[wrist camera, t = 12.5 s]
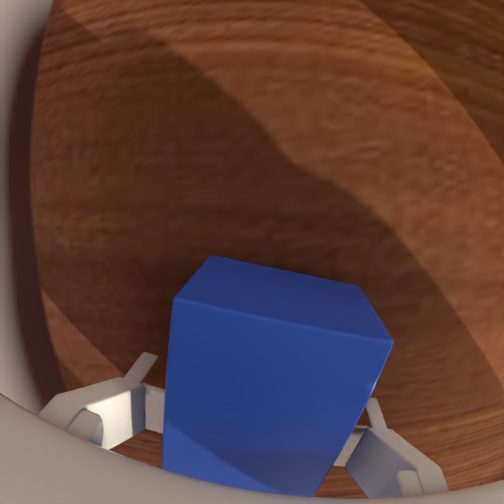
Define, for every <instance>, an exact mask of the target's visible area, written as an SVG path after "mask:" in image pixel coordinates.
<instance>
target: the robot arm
mask: <svg viewBox="0 0 504 504" xmlns="http://www.w3.org/2000/svg"><path fill="white" fill-rule="evenodd" d="M166 369H167V358H164V357H161V356H160V357H159V356H158V355H154V354H151V353H148V352H144V353H142V354H141V355H140V357H139V358H138V359H137V361H136V362H135V363H134V365H133V366H132V367H131V369H130V370H129V371H128V373H127V374H126V375H125V376H124V378H122V377H116V378H113V379H110V380H106V381H103V382H100V383H96V384H93V385H89V386H86V387H82V388H79V389H75V390H71V391H68V392H64V393H60V394H57V395H56V396H55V397H54V398H53V399H52V400H51V401H50V402H49V403H48V404H47V405H46V406H45V407H44V408H43V409H42V410H41V412H40V413H39V414H38V415H35V414H34V413H32V412H30V411H28V410H27V409H25V408H23V407H21V406H20V405H18V404H17V403H15V402H13V401H12V400H10V399H9V398H7V397H5V396H4V395H2V394H1V393H0V504H504V479H503V480H499V481H495V482H491V483H487V484H482V485H478V486H473V487H468V488H463V489H458V490H452V491H450V490H449V488H448V485H447V483H446V480H445V478H444V475H443V473H442V471H441V468H440V466H438V465H437V464H436V463H434V462H433V461H432V460H430V459H429V458H428V457H427V456H425V455H424V454H423V453H421V452H420V451H419V450H417V449H416V448H415V447H414V446H412V445H411V444H410V443H408V442H407V441H406V440H405V439H403V438H402V437H401V436H400V435H398V434H397V433H396V432H394V431H393V430H392V429H387V426H386V423H385V420H384V417H383V415H382V412H381V409H380V406H379V404H378V401H377V399H376V398H375V397H370V398H369V400H368V402H367V404H366V406H365V408H364V410H363V412H362V414H361V416H360V418H359V420H358V422H357V424H356V426H355V427H354V429H353V431H352V433H351V435H350V437H349V438H348V440H347V442H346V444H345V446H344V447H343V449H342V451H341V453H340V454H339V456H338V458H337V460H336V461H335V463H334V465H333V466H344V468H345V469H346V470H347V472H348V473H349V474H350V475H351V477H352V478H353V479H354V480H355V482H356V483H357V484H358V485H359V487H360V488H361V489H362V490H363V492H364V493H365V494H366V495H367V497H368V498H324V497H308V496H296V495H286V494H278V493H270V492H263V491H256V490H250V489H244V488H238V487H233V486H228V485H223V484H218V483H214V482H209V481H205V480H201V479H197V478H193V477H189V476H185V475H182V474H178V473H175V472H171V471H168V470H164V469H161V468H158V467H155V466H152V465H149V464H146V463H143V462H140V461H137V460H134V459H131V458H129V457H126V456H123V455H121V454H118V453H116V452H113V451H110V450H109V449H111V448H113V447H115V446H116V445H118V444H120V443H122V442H124V441H126V440H127V439H129V438H131V437H133V436H135V435H136V434H138V433H140V432H142V431H143V430H144V428H145V429H148V430H151V431H155V432H158V433H162V434H163V417H164V398H165V382H166Z"/></svg>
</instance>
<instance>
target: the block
mask: <svg viewBox="0 0 504 504" xmlns="http://www.w3.org/2000/svg"><path fill="white" fill-rule="evenodd" d="M392 346H393V339H392V337H391V336H390V334H389V332H388V331H387V329H386V328H385V326H384V324H383V323H382V321H381V319H380V318H379V316H378V315H377V313H376V311H375V310H374V308H373V307H372V305H371V304H370V302H369V300H368V299H367V297H366V296H365V294H364V293H363V291H362V290H361V288H360V287H359V286H358V285H353V284H348V283H344V282H339V281H334V280H329V279H324V278H319V277H315V276H310V275H305V274H300V273H296V272H291V271H286V270H281V269H277V268H272V267H267V266H262V265H258V264H253V263H248V262H244V261H239V260H234V259H230V258H225V257H221V256H216V255H210V257H209V258H208V259H207V260H206V261H205V262H204V263H203V265H202V266H201V267H200V268H199V269H198V270H197V271H196V273H195V274H194V275H193V276H192V277H191V278H190V279H189V281H188V282H187V283H186V284H185V285H184V286H183V288H182V289H181V290H180V291H179V292H178V293H177V294H176V296H175V297H174V298H173V304H172V313H171V323H170V333H169V344H168V356H167V369H166V382H165V398H164V417H163V442H162V469H164V470H168V471H171V472H175V473H178V474H182V475H185V476H189V477H193V478H197V479H201V480H205V481H209V482H214V483H218V484H223V485H228V486H233V487H238V488H244V489H250V490H256V491H263V492H270V493H278V494H286V495H296V496H308V497H313V496H314V495H315V493H316V492H317V490H318V489H319V487H320V485H321V484H322V482H323V481H324V479H325V478H326V476H327V474H328V473H329V471H330V469H331V468H332V466H333V465H334V463H335V461H336V460H337V458H338V456H339V454H340V453H341V451H342V449H343V447H344V446H345V444H346V442H347V440H348V438H349V437H350V435H351V433H352V431H353V429H354V427H355V426H356V424H357V422H358V420H359V418H360V416H361V414H362V412H363V410H364V408H365V406H366V404H367V402H368V400H369V398H370V396H371V394H372V392H373V389H374V387H375V385H376V383H377V381H378V379H379V376H380V374H381V372H382V370H383V367H384V365H385V363H386V360H387V358H388V356H389V353H390V351H391V349H392Z"/></svg>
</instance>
